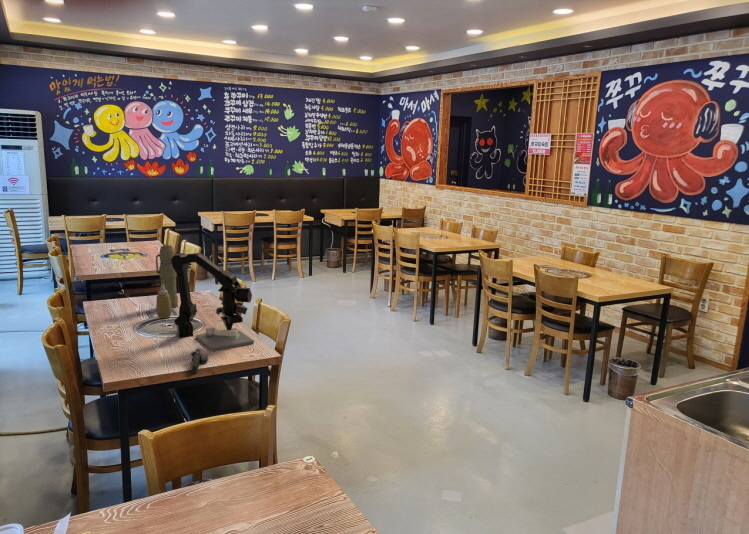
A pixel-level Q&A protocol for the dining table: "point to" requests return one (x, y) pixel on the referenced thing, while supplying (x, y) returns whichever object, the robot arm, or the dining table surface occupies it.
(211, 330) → the dial lever
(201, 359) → the can opener
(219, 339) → the board
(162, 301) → the squeeze bottle
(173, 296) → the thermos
